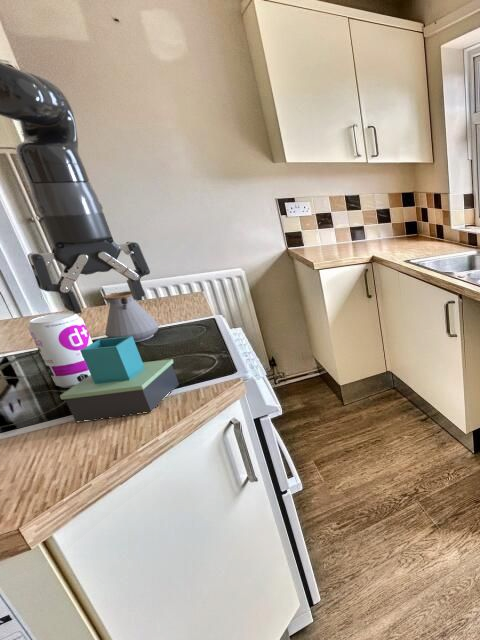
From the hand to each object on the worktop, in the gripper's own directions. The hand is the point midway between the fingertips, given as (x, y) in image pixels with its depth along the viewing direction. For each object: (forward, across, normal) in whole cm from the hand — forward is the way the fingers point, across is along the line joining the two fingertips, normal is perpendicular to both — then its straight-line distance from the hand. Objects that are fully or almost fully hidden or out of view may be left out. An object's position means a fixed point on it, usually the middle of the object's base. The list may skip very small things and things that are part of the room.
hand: (108, 306), depth 75 cm
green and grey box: (+21, +1, -5) cm, 21 cm away
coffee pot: (+21, -14, -44) cm, 51 cm away
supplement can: (+21, +3, -28) cm, 35 cm away
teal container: (+15, +1, -5) cm, 16 cm away
